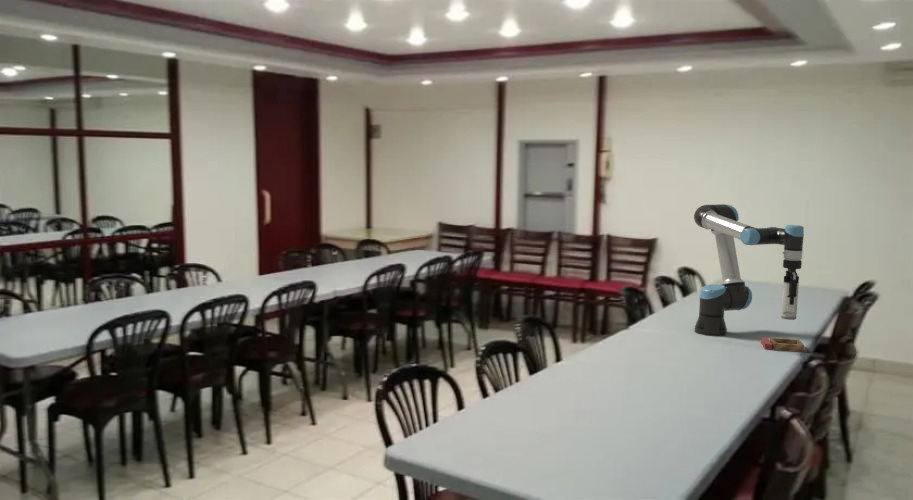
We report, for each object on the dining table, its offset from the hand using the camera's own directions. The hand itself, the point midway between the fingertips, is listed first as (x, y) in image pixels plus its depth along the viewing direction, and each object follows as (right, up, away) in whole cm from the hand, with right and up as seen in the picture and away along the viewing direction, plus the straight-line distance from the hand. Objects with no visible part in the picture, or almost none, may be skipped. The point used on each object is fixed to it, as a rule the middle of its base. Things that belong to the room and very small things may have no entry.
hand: (789, 309), depth 323 cm
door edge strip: (-8, -17, +5) cm, 20 cm away
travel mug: (0, -4, 0) cm, 4 cm away
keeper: (0, -18, +2) cm, 18 cm away
